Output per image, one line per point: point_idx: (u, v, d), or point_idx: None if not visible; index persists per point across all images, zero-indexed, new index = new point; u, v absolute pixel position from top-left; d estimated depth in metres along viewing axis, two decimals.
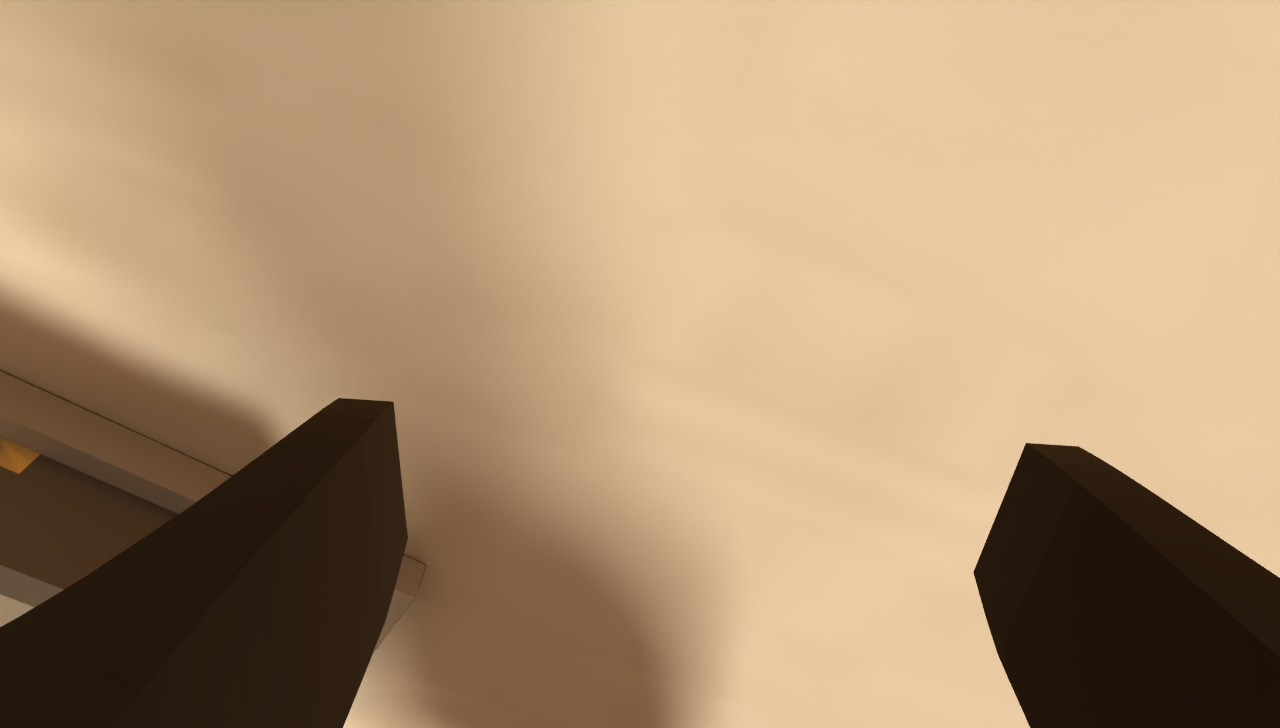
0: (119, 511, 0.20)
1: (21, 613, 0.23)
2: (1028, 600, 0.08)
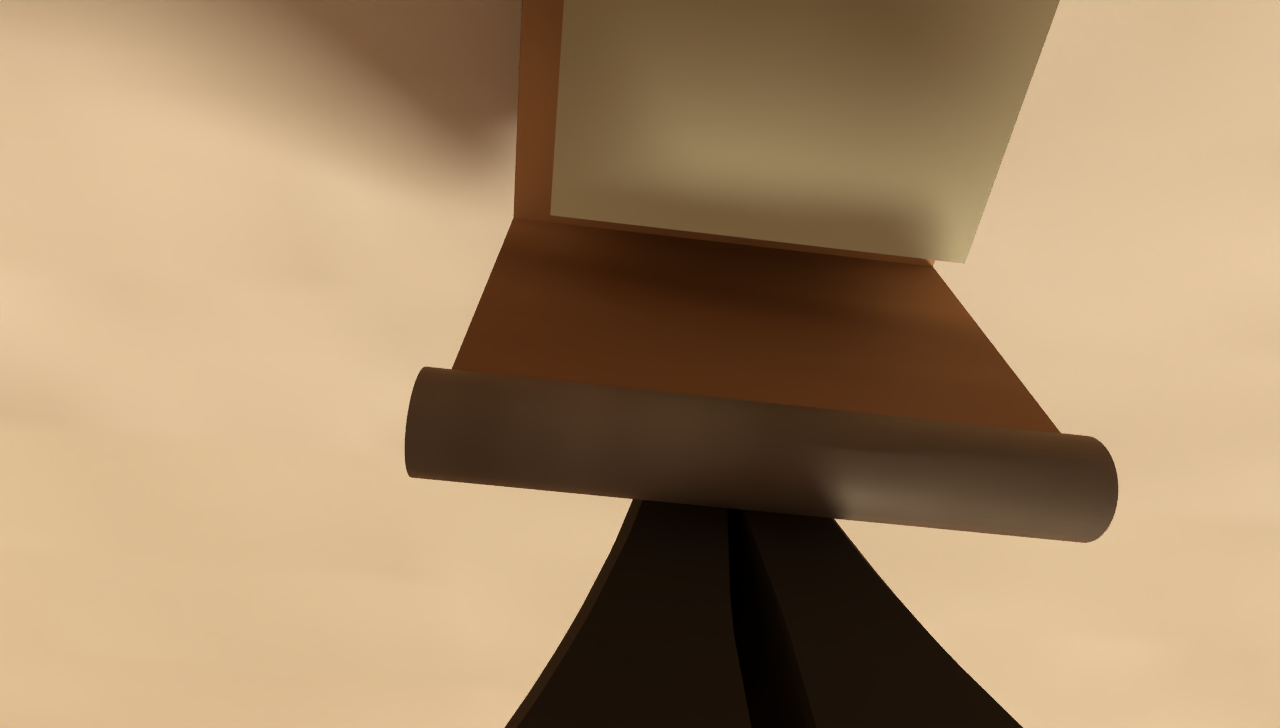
0: None
1: None
2: None
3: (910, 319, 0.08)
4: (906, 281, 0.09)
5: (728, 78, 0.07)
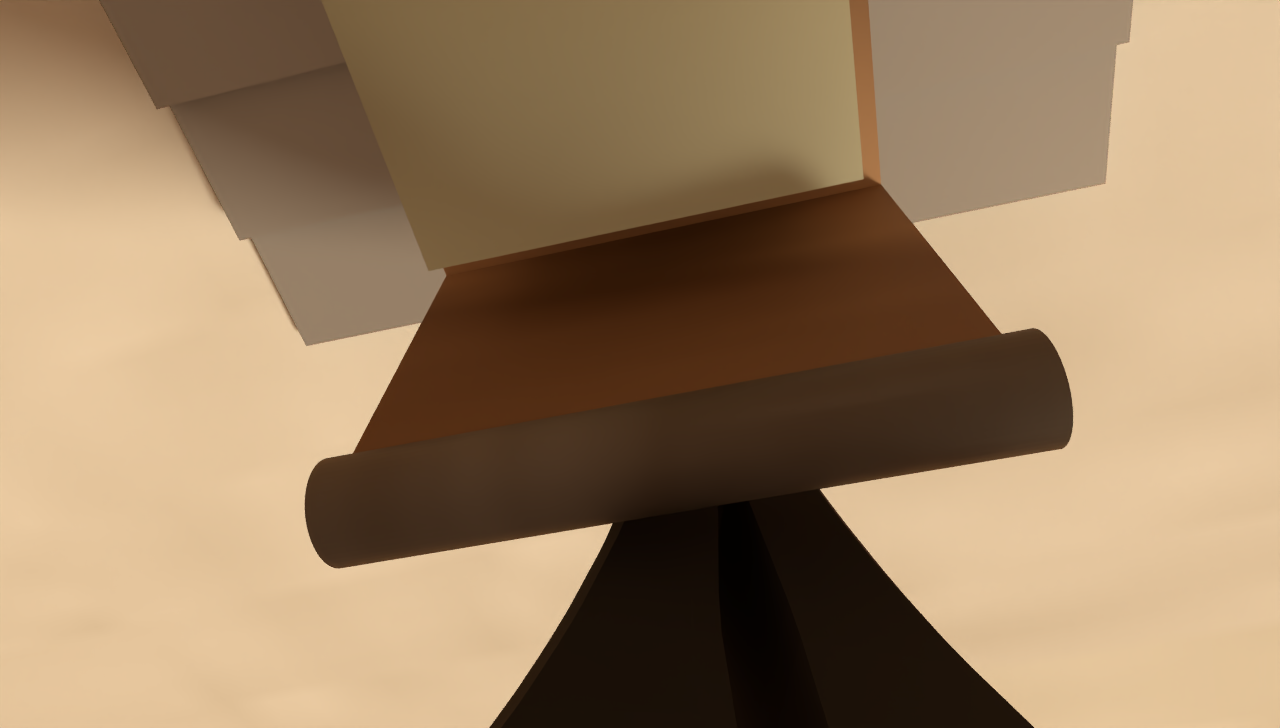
0: None
1: None
2: None
3: (845, 252, 0.08)
4: (847, 211, 0.08)
5: (533, 81, 0.06)
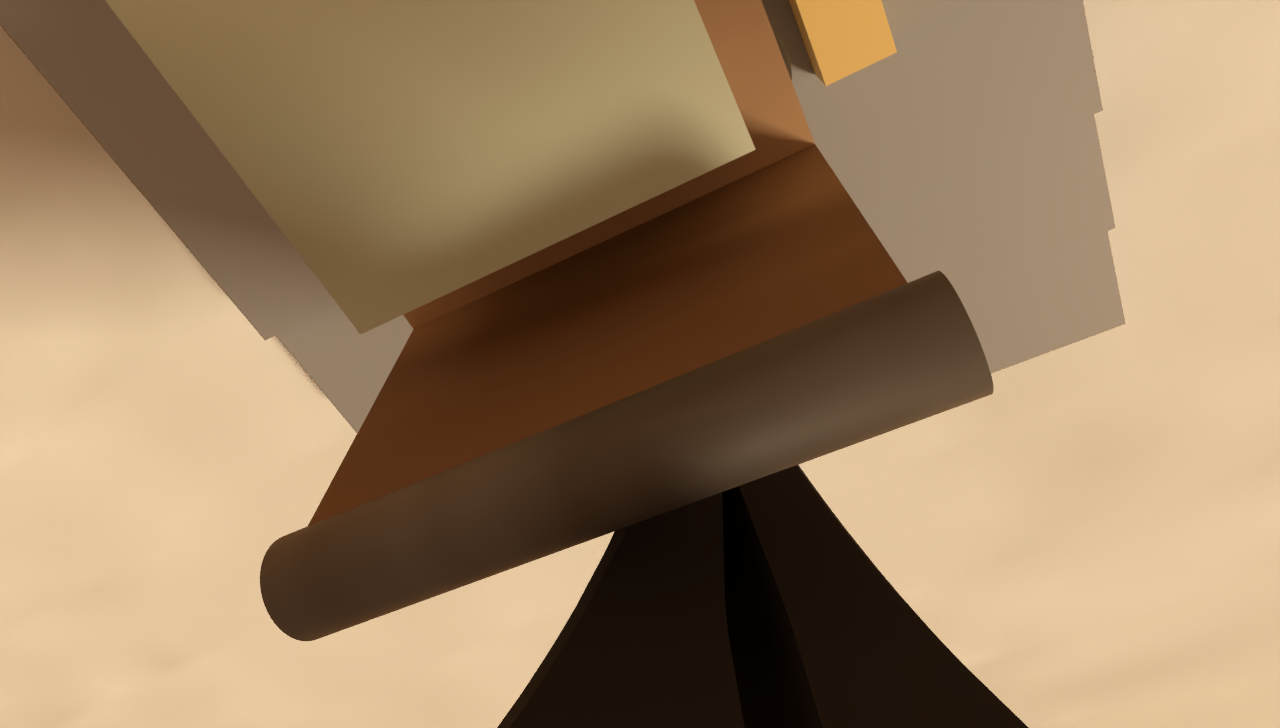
0: None
1: None
2: None
3: (769, 226, 0.07)
4: (779, 180, 0.08)
5: (400, 131, 0.06)
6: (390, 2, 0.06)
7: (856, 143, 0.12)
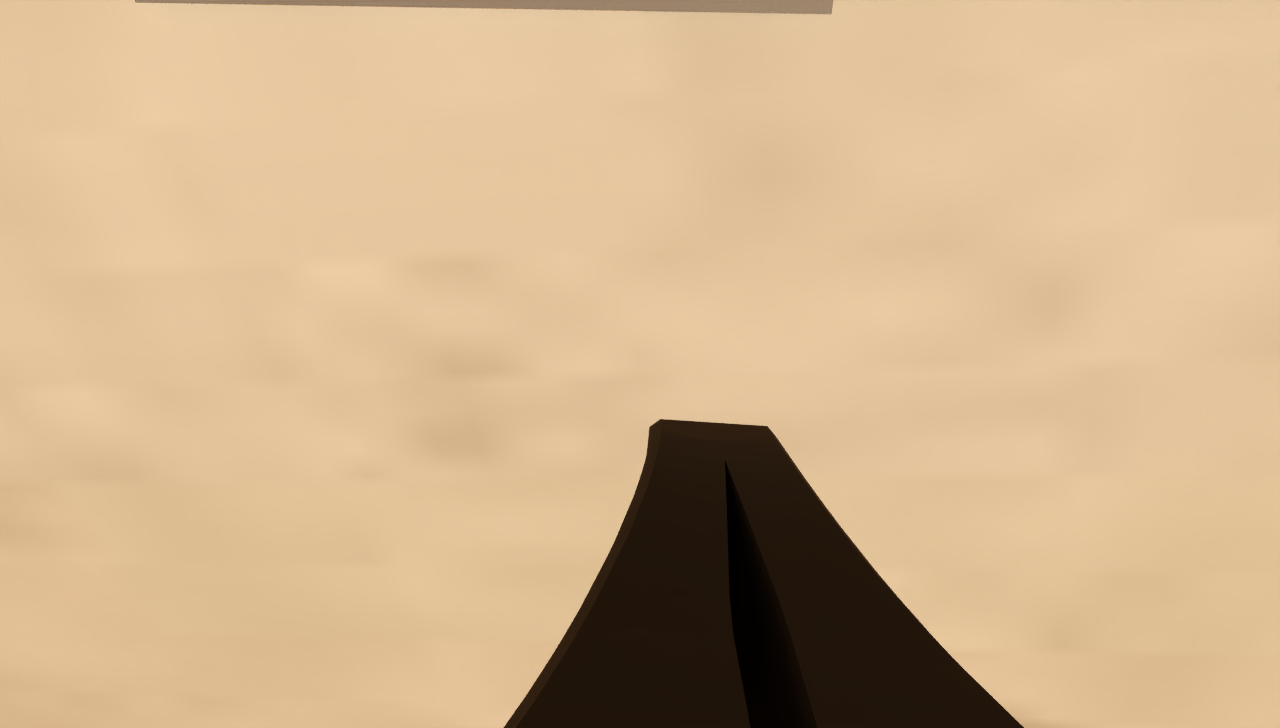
0: None
1: None
2: None
3: None
4: None
5: None
6: None
7: None
